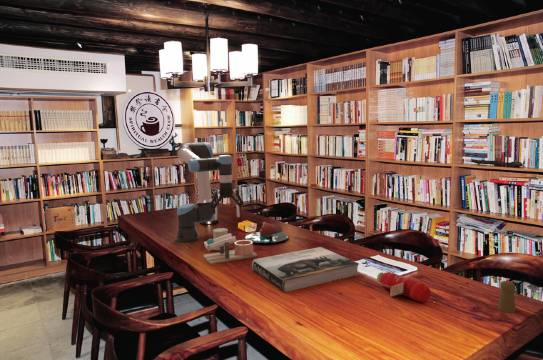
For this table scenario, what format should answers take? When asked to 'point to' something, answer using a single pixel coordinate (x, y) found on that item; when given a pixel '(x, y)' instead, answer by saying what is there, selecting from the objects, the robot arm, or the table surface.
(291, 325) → the table surface
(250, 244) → the cup
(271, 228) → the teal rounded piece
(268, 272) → the book
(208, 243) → the ball
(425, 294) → the red elongated piece
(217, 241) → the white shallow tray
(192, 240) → the robot arm
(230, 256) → the stand
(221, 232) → the can
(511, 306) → the green chess rook
